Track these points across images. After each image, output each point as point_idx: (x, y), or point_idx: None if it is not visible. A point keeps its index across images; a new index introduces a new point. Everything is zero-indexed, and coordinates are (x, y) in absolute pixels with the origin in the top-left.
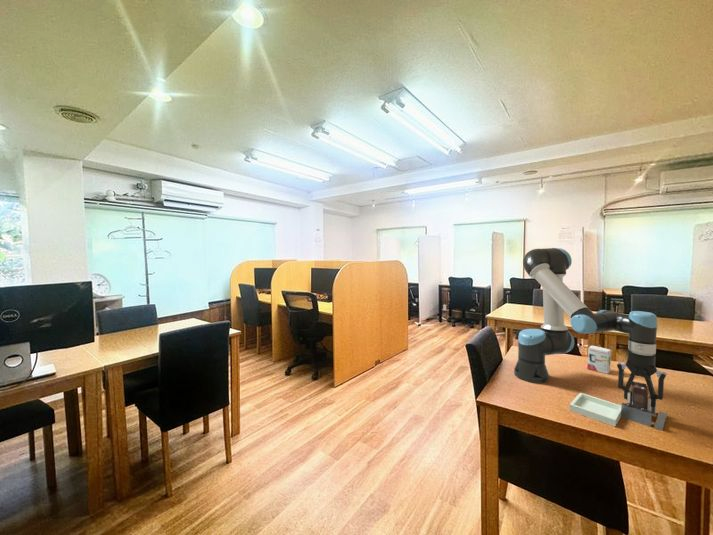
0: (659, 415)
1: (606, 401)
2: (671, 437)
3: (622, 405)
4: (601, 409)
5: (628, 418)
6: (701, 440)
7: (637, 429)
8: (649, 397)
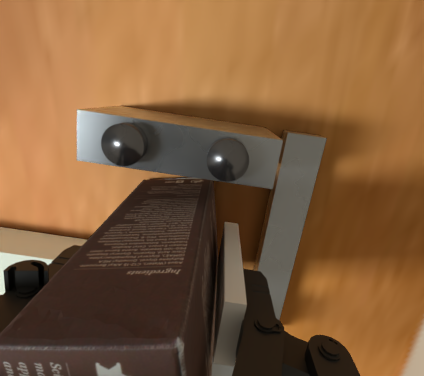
0: (279, 202)
1: (6, 264)
2: None
3: None
4: None
5: None
6: (411, 312)
7: None
8: (225, 335)
